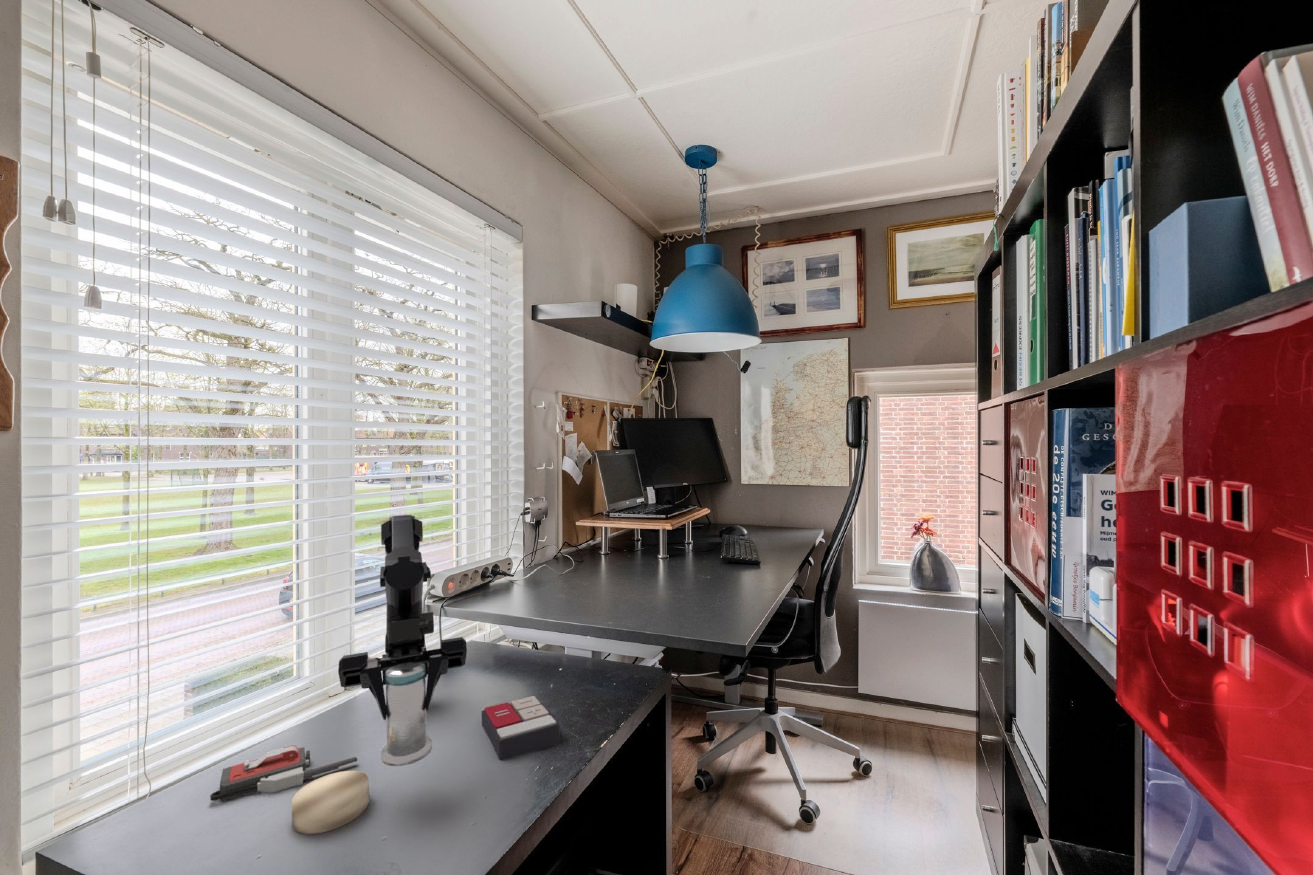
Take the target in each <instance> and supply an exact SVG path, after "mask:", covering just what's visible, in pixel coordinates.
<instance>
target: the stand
mask: <svg viewBox="0 0 1313 875" xmlns="http://www.w3.org/2000/svg"><path fill="white" fill-rule="evenodd" d="M369 803H370V781H369V777H368V775H367V774H366V773H364V772H362V771H357V770H344V771H337V772H334V773H330V774H329V773H328V774H326V775H324V776H321V777H319V778H316V779H314V780H312V781H310V782H309V783H307V784H306V785H304V786H302V788H300V789H299V790H298V791H297V792H296V793H295V795H293V797H292V800H291V825H292V829H294V831H296V832H297V833H301V834H305V835H306V834H307V835H314V834H322V833H325V832H329V831H333V830H335V829H336V830H337V829H339V828H340V827H342V826H345V825H347V824H349V823H351V822H352V821H354V820H355V819H357V818H358V817H359V816H361V815H362V813H363V812H364V811H365V810H366V809H367V807H368V805H369Z"/></svg>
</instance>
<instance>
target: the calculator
mask: <svg viewBox="0 0 1313 875" xmlns="http://www.w3.org/2000/svg"><path fill="white" fill-rule="evenodd" d="M481 726H482V728H483V731H484V732H485V734H486V735H487V737H488V739H489V741H490V743H491V745H492V746H493V749H494V752H495V754H496V756H497V758H498V760H499V761H505V760H507V759H511V758H515V757H518V756H522V755H524V754H525V755H526V754H527V753H531V752H534V751H535V752H536V751H538V750H541V749H545V748H548V747H553V746H554V745H558V744H560V743H561V742H560V740H561V738H560V723H559V722H558V721H557V720H556V718H555V717H554V716H553V715H552V714H551V713H550V712H549V711H548V710H547V708H546V707H545V706H544V705H543V704H542V703H541V702H540V701H539V699H537V697H536V696H535V695H532V696H527V697H523V698H519V699H515V700H512V701H511V703H510V702H503V703H499V704H496V705H492V706H487V707H484V710H481Z"/></svg>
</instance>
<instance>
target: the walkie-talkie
mask: <svg viewBox="0 0 1313 875" xmlns="http://www.w3.org/2000/svg"><path fill="white" fill-rule="evenodd" d="M354 762H355V763H356V762H358V757H356V756H353V757H351V758H347V759H343V760H340V761H337V762H332V763H329V764H325V765H321V766H319V767H318V766H317V767H315V768H309V767H308V768H306V767H307V766H309V765H310V763H311V750H310V749H309V750H305V747H298V746H296V745H291V744H290V745H287V746H285V747H282V748H276V749H273V750H269V751H267V752H265V753H264V754H263V755H262V756H260V757H259V758H257V759H255V760H254V759H253V760H250V758H248V759H245V760H244V762H243V763H240V764H236V765H235V764H234V765H232V766H228V767H225V768H222V771H221V776H220V780H219V790H217V791H214V792H212V793H211V794H210V797H209V799H210V801H212V802H214V801H215V802H216V801H220V802H226V801H230V800H233V799H236V798H239V797H243V796H245V795H246V796H247V795H250V794H253V793H256V792H260V793H276V792H281V791H284V790H287V789H290V788H292V787H293V788H294V787H297V786H298V787H299V786H302V785H304V780H307V779H311V778H312V777H313V776H317V775H321V774H324V773H327V772H331V771H333V770H338V769H339V767H343V766H346V765H348V764H349V765H350V764H352V763H354Z"/></svg>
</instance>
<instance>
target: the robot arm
mask: <svg viewBox="0 0 1313 875" xmlns="http://www.w3.org/2000/svg"><path fill="white" fill-rule="evenodd" d="M423 528H424V527H423V521H422V520H419V519H417V518H416V516H415V515H412V514H407V515H406V514H405V515H393V516H391V517H389V520H388V521H385V522H384V523H382V524H380V539H381V540H380V542H381V546H384V552H385V556H384V566H383V565H382V566H380V571H379V573H380V574H379V585H380V586H379V587H380V588H384V587H385V599H386V622H385V623H386V626H385V627H386V630H385V631H386V634H385V636H384V638H385V639H384V641H385V642H384V644H385V645H384V647H385V648H384V650H385V651H384V652H385V654H382V655H381V657H372V658H371V657H370V658H369V652H368V651H364V652H359V653H352V654H345V655H343V656H342V657H341V658H340V659H339V661H338V671H337V672H338V678H339V683H340V687H341V688H350V687H355V686H361V688H362V689H363V690H364V689H365V690H366V689H369V691H370V692H371V694H372V696H373V697H374V699H375V702H376V704H377V707H378V709H379V712H380V714H381V717H382V719H383V721H385V720H386V721H387V714H386V695H385V689H384V686H386V682H385V672H386V671H387V670H388V669H389V668H391V667H393V666H395V665H398V664H402V663H408V662H420V663H423V664H425V665H426V675H425V678H427V680H426V681H427V682H426V712H428V711H429V710H430V706H431V703H432V700H433V697H434V693H435V689H436V687H437V685H438V683H439V680H440V678H441V676H442V675H445V674H447V673H448V670H449V669H450V670H451V669H455V668H456V669H457V668H460V667H461V668H462V667H463V666H465V665H466V662H467V661H466V660H467V654H468V653H467V652H468V651H467V650H468V649H467V641H466V639H465V638H463V636H460V637H454V638H452V637H451V638H447V639H441V640H440V648H436V649H435V648H434V649H429V650H427V647H425V646H426V644H425V635H430V634H433V633H434V631H435V621H434V620H435V619H434V611H432V612H429V611H428V612H425V613H423V612H424V611H423V593H424V590H423V589H424V583H427V582H428V579H431V574H432V573H431V569H430V567H429V566H428V564H427V562H426V561H425V562H424V561H423V558H422V557H423V556H422V552H420V542H421V543H422V542H423V537H424V532H423V531H424V530H423Z"/></svg>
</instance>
